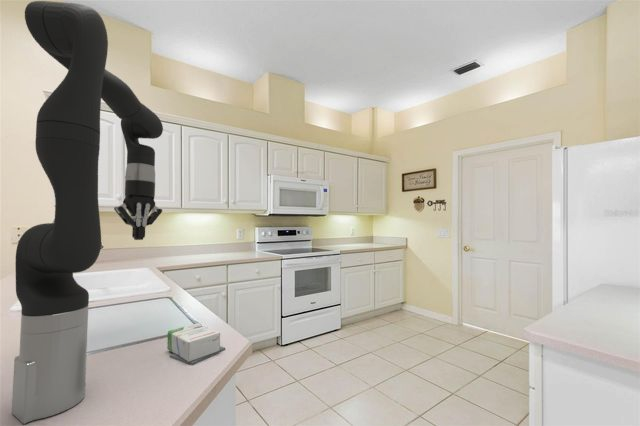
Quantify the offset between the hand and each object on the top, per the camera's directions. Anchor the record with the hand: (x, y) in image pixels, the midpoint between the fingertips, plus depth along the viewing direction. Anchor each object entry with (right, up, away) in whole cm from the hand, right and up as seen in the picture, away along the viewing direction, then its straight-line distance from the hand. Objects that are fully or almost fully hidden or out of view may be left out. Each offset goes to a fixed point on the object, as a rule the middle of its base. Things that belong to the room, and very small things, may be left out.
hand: (138, 239), depth 84 cm
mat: (+21, -29, -10) cm, 37 cm away
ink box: (+15, -26, -5) cm, 30 cm away
